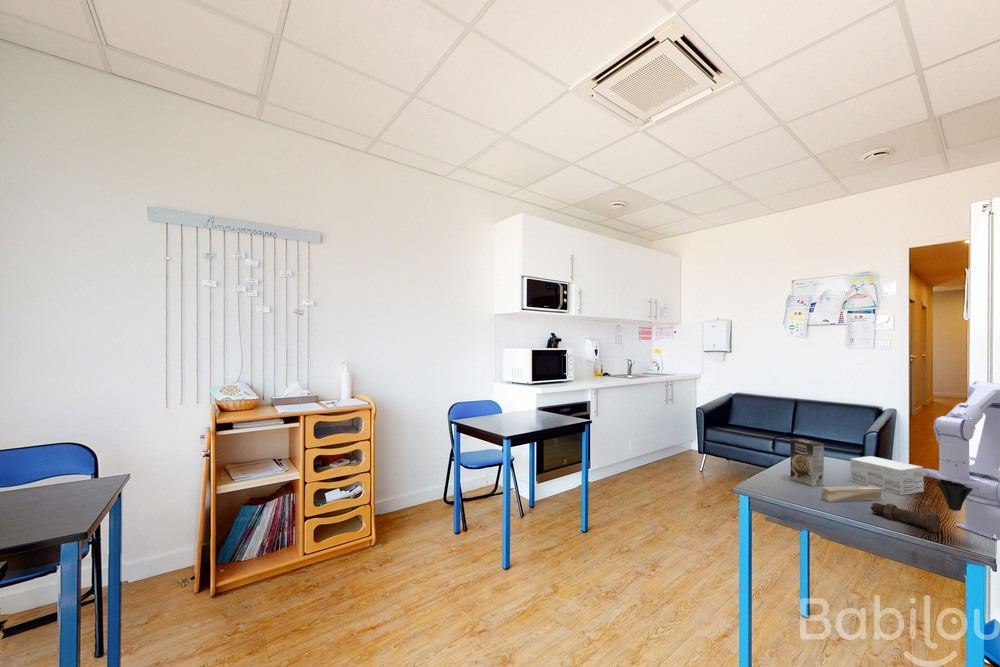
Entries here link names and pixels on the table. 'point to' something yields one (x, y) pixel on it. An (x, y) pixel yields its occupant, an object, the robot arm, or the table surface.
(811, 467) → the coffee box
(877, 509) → the bolt
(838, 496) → the bar
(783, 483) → the table surface
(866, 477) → the supplement box
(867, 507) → the table surface
